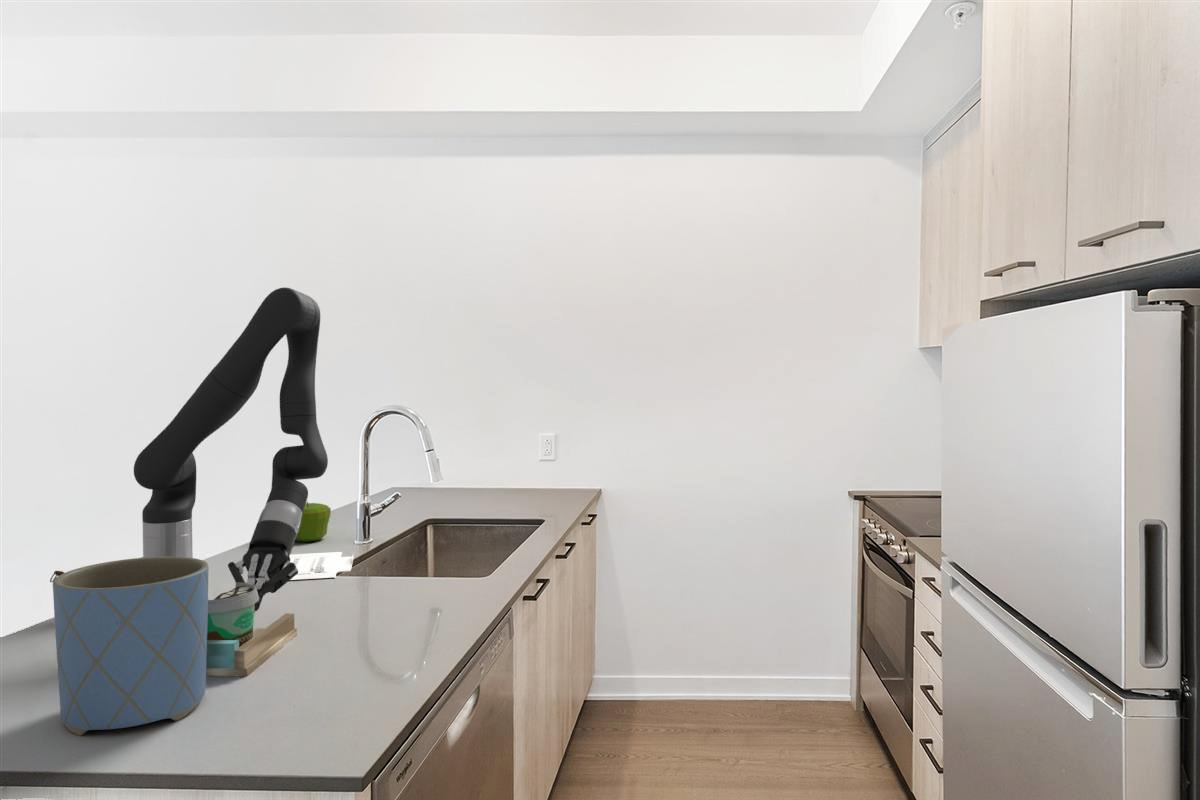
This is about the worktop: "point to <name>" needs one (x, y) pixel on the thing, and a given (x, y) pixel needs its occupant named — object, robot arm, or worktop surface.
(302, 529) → the apple
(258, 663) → the channel board
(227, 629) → the food container
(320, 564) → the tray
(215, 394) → the robot arm
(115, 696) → the planter
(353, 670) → the worktop surface
